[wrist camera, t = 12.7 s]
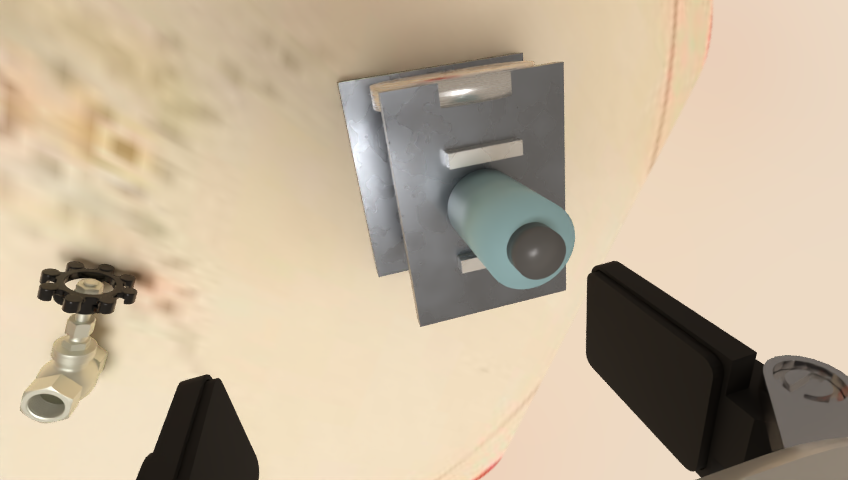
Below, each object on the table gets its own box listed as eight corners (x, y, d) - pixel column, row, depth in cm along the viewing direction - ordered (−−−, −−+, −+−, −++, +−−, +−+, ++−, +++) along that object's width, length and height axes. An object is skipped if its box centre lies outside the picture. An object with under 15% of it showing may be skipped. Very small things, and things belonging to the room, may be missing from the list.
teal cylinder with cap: (442, 177, 29) (488, 220, 21) (515, 161, 30) (586, 197, 22) (452, 247, 31) (498, 310, 23) (520, 231, 32) (587, 286, 24)
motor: (337, 82, 36) (345, 90, 25) (515, 53, 39) (601, 48, 27) (376, 270, 44) (397, 346, 32) (525, 236, 46) (595, 295, 34)
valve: (121, 380, 42) (151, 274, 39) (88, 432, 36) (120, 313, 33) (40, 366, 40) (65, 252, 37) (-9, 419, 34) (15, 289, 31)
